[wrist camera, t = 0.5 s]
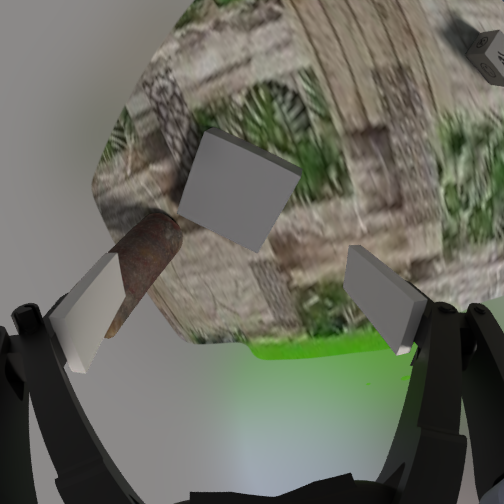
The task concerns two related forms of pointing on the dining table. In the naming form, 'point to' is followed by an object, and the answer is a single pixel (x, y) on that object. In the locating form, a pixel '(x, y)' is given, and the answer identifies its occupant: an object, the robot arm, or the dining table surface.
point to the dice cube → (489, 56)
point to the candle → (143, 260)
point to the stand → (237, 188)
